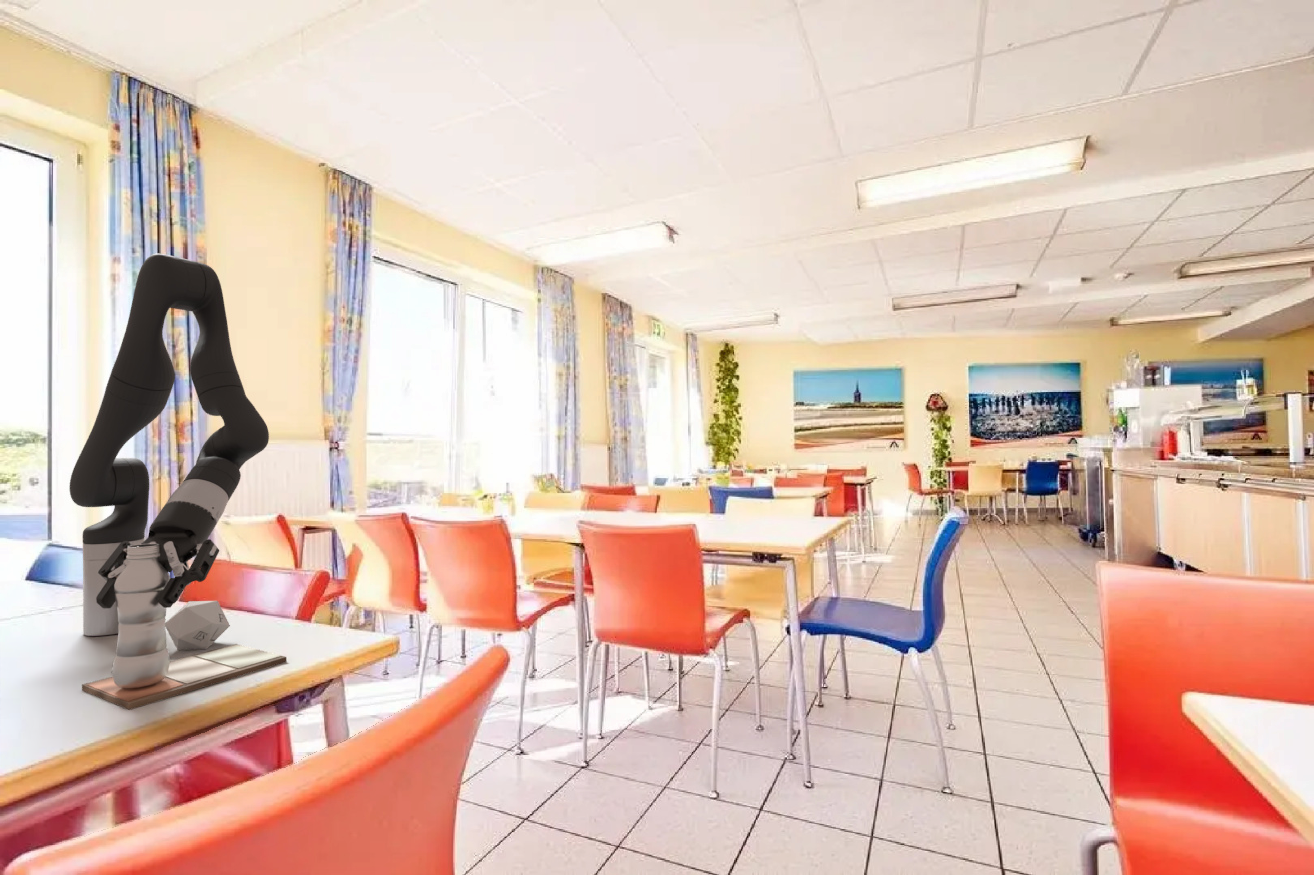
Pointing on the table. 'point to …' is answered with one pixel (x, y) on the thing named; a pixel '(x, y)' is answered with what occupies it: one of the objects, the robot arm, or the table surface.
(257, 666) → the game board
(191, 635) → the die
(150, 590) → the plastic bottle
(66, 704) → the table surface
